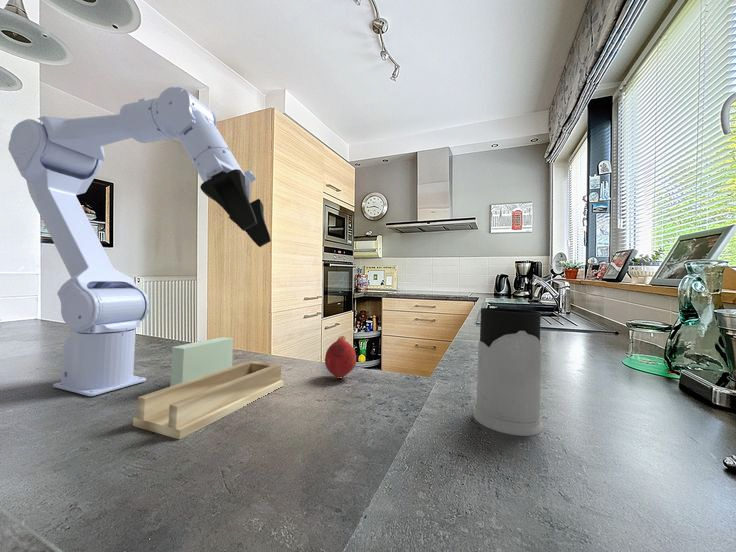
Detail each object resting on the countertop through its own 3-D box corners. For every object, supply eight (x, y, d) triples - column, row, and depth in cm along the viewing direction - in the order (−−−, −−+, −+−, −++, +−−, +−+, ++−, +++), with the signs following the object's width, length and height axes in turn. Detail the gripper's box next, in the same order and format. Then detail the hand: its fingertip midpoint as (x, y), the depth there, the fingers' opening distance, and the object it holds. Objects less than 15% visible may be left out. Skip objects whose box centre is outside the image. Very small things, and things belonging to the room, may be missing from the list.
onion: (350, 385, 53) (352, 339, 54) (319, 382, 55) (321, 337, 55) (358, 375, 59) (360, 334, 59) (330, 372, 60) (331, 332, 60)
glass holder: (484, 433, 38) (488, 311, 38) (456, 392, 52) (459, 303, 52) (557, 437, 38) (560, 314, 38) (509, 395, 52) (511, 306, 52)
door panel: (169, 392, 48) (172, 347, 48) (221, 374, 57) (222, 336, 57) (181, 394, 47) (183, 348, 47) (231, 376, 56) (233, 338, 56)
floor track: (133, 425, 36) (134, 396, 36) (247, 380, 54) (247, 360, 54) (179, 439, 34) (181, 407, 34) (283, 386, 52) (284, 365, 52)
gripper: (219, 116, 40) (270, 201, 38) (253, 174, 54) (291, 237, 52) (167, 140, 39) (217, 229, 37) (216, 192, 53) (253, 258, 51)
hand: (257, 235), depth 45 cm, fingers open, 7 cm apart
